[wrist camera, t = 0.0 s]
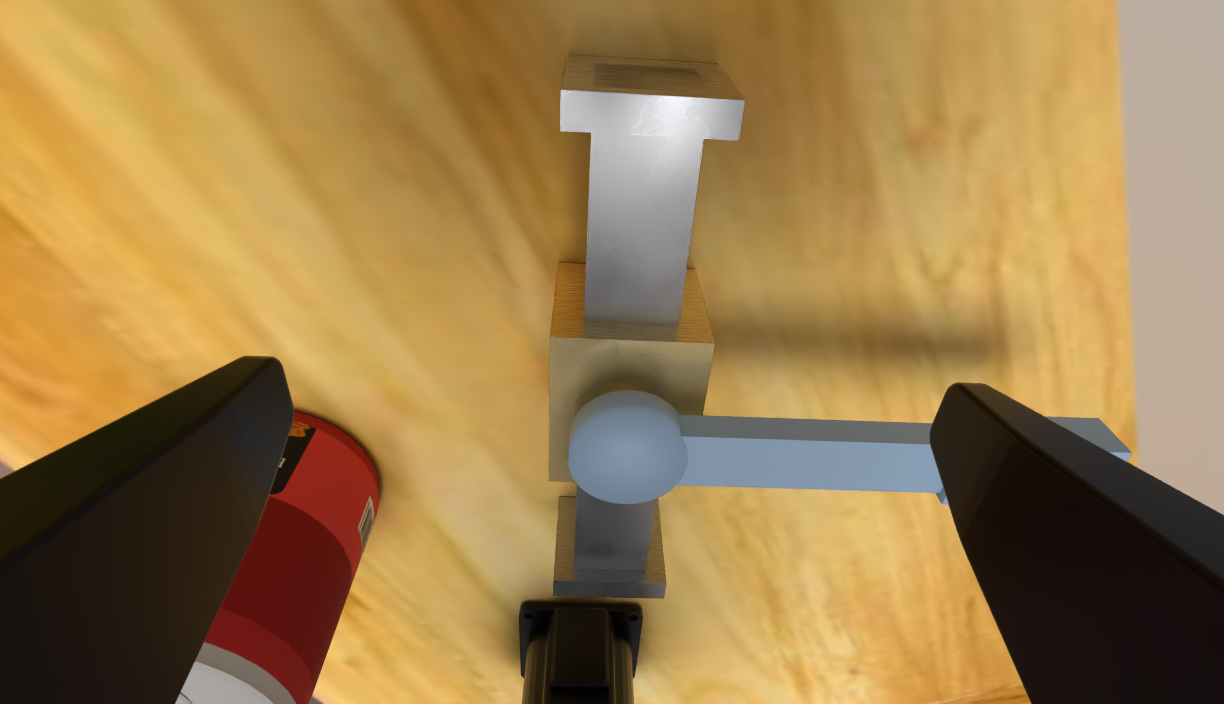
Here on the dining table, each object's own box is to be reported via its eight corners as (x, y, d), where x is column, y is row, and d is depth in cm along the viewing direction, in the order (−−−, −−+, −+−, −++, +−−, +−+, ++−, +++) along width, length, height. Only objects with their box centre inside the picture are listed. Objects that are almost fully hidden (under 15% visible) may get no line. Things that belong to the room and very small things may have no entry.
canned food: (306, 377, 27) (156, 621, 18) (420, 502, 31) (346, 753, 22) (163, 440, 29) (-41, 692, 19) (289, 551, 33) (169, 801, 24)
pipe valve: (660, 514, 32) (669, 606, 27) (554, 511, 31) (547, 604, 27) (724, 64, 20) (756, 104, 16) (561, 54, 20) (551, 92, 16)
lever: (1051, 477, 23) (1086, 521, 22) (569, 462, 22) (566, 507, 21) (1100, 395, 21) (1142, 437, 20) (571, 376, 20) (569, 418, 19)
